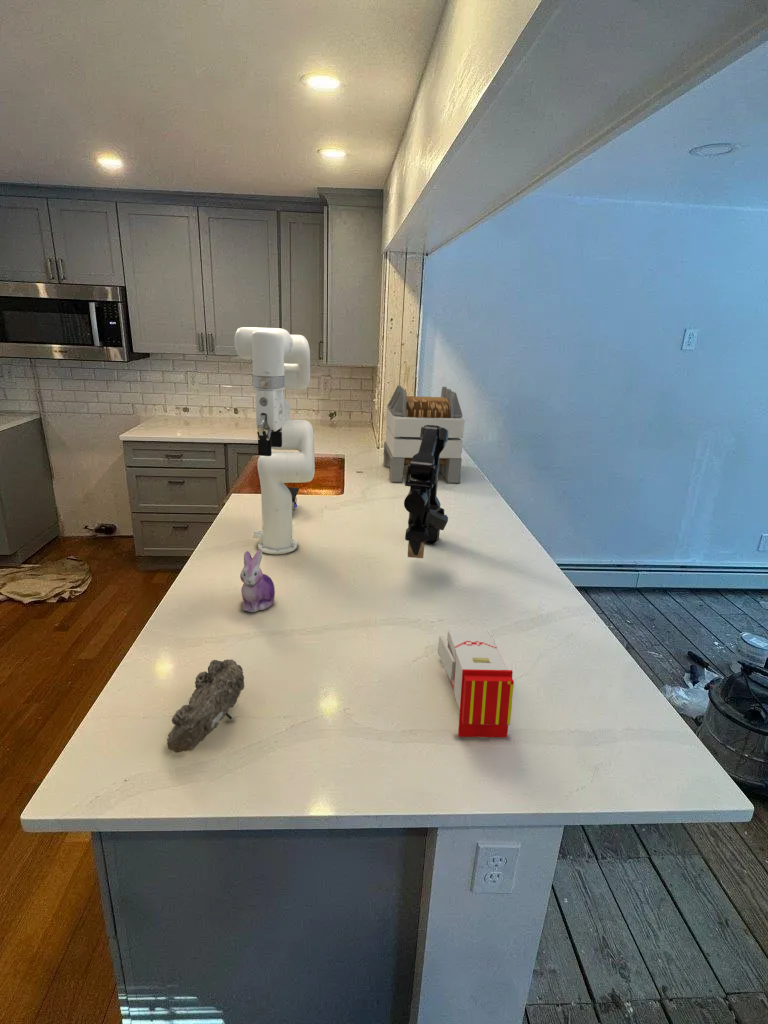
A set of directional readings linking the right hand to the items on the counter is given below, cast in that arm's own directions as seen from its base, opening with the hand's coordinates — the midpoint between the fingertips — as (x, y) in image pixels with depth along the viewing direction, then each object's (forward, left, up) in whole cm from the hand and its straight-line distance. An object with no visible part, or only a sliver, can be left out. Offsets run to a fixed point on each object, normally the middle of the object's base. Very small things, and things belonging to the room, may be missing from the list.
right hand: (416, 551), depth 169 cm
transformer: (-38, +104, -7) cm, 111 cm away
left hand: (-31, -28, +32) cm, 53 cm away
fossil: (-11, -78, -7) cm, 79 cm away
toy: (+31, -47, -7) cm, 57 cm away
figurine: (-29, -38, -7) cm, 49 cm away
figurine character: (-62, +27, -7) cm, 68 cm away
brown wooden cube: (0, 0, -1) cm, 1 cm away
